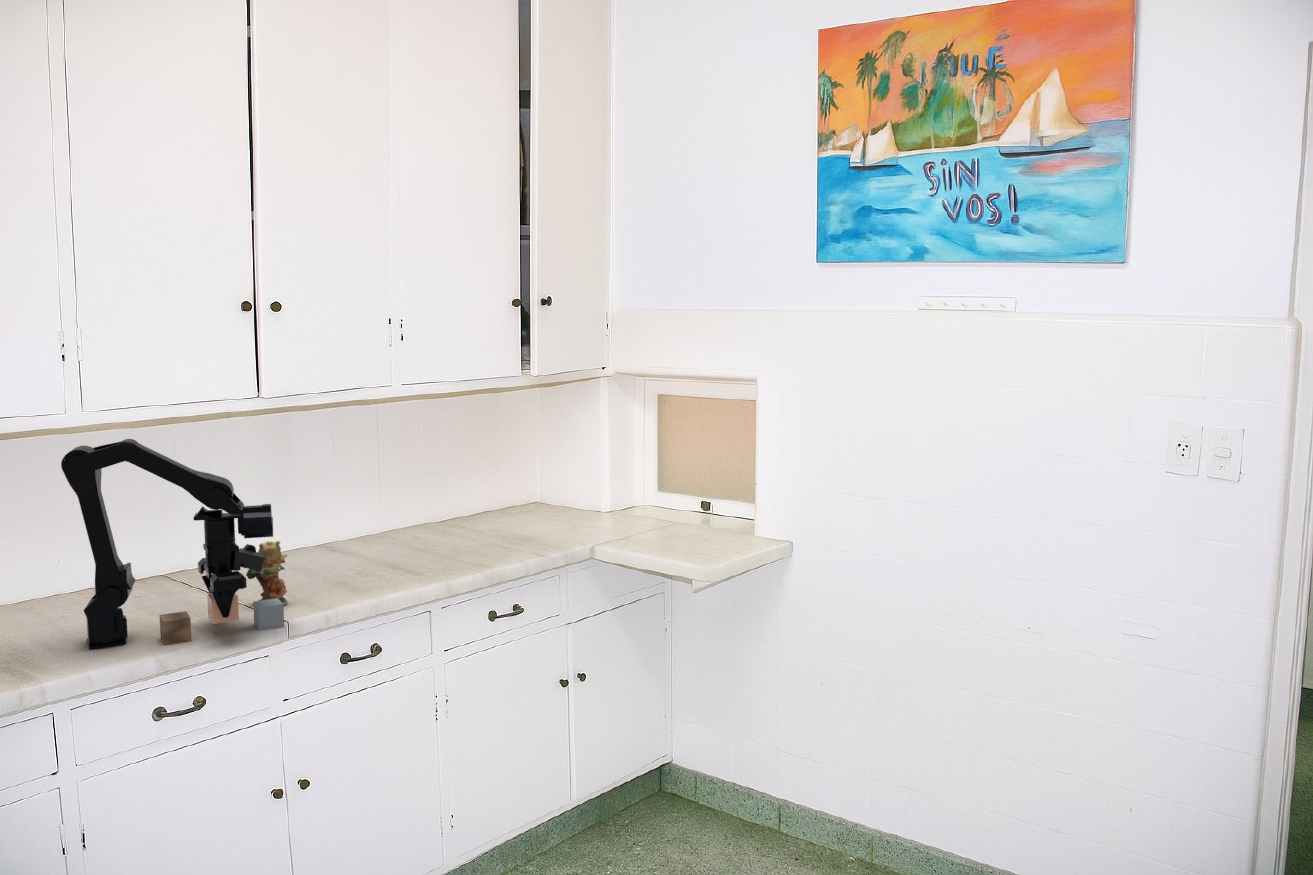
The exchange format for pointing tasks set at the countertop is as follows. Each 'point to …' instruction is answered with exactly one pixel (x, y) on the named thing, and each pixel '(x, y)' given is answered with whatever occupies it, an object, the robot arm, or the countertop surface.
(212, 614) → the terracotta cube
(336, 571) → the countertop surface
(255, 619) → the slate cube
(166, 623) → the walnut cube
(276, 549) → the figurine
